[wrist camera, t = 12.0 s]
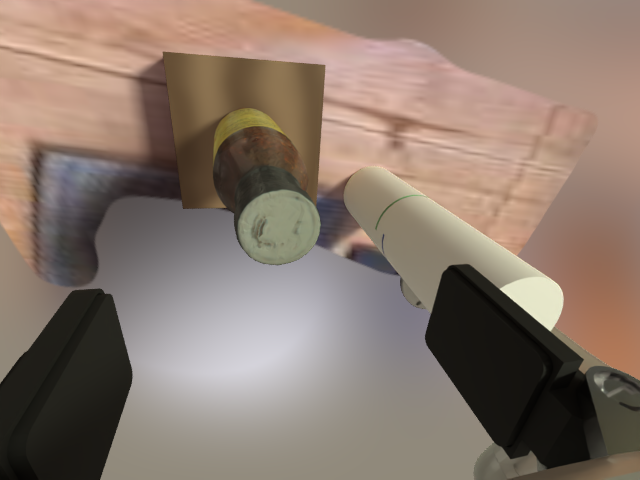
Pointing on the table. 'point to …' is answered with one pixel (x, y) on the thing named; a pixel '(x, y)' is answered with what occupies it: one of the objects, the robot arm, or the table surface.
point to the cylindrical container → (441, 244)
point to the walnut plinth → (229, 95)
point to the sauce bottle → (264, 188)
